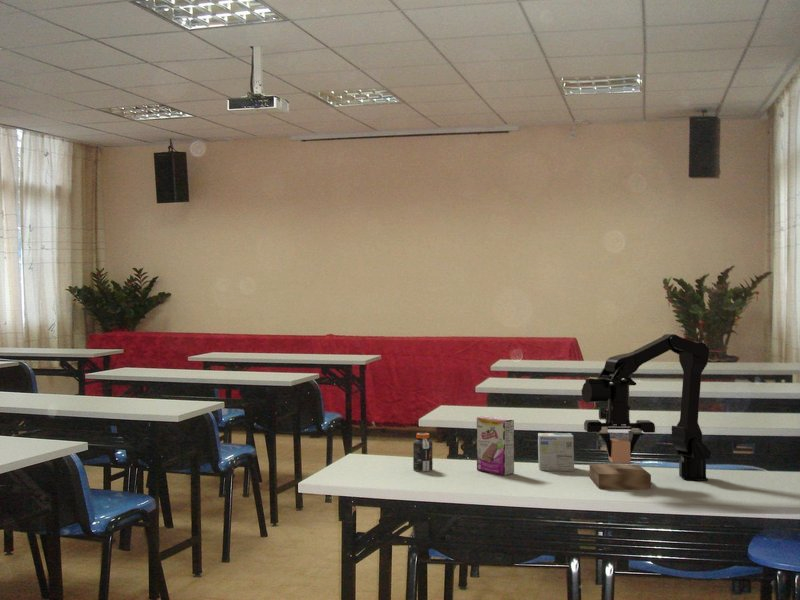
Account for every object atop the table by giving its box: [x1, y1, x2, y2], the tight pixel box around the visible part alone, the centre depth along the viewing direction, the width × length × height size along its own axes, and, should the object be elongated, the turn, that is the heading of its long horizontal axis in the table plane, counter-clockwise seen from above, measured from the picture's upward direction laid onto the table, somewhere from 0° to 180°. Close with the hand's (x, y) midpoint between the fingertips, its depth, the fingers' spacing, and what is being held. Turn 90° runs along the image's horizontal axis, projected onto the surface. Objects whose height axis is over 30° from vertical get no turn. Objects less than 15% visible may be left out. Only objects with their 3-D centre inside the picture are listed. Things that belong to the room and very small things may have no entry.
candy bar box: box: [476, 415, 515, 476], centre depth 235 cm, size 11×5×16 cm, turn 43°
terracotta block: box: [608, 438, 632, 464], centre depth 219 cm, size 5×5×6 cm
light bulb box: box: [537, 432, 575, 472], centre depth 240 cm, size 11×7×11 cm, turn 84°
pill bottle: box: [412, 432, 434, 472], centre depth 238 cm, size 6×6×11 cm
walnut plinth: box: [589, 463, 652, 490], centre depth 219 cm, size 14×14×4 cm
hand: (619, 456), depth 219 cm, fingers closed on terracotta block, 5 cm apart
